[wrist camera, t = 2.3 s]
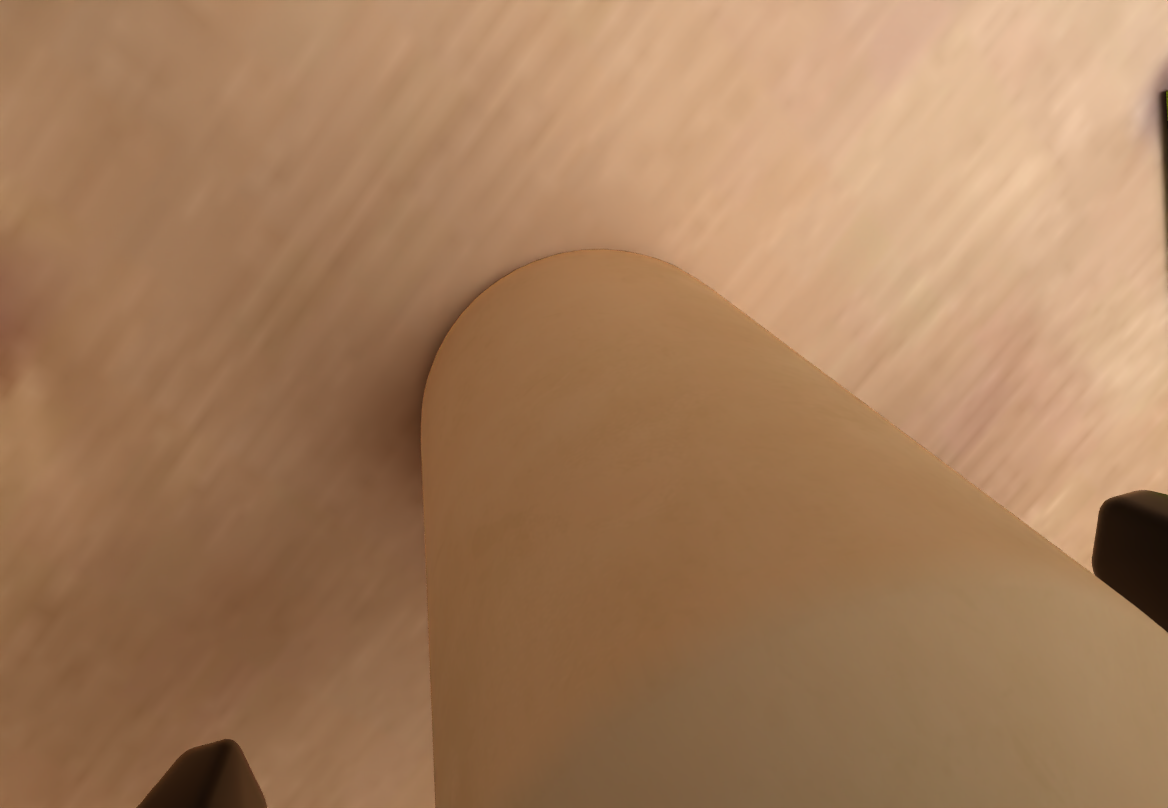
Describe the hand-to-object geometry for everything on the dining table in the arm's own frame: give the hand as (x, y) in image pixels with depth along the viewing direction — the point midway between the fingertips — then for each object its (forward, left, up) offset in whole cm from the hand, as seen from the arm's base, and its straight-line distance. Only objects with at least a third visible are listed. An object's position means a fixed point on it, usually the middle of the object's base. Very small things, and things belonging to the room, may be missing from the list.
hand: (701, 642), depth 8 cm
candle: (0, 0, -6) cm, 6 cm away
